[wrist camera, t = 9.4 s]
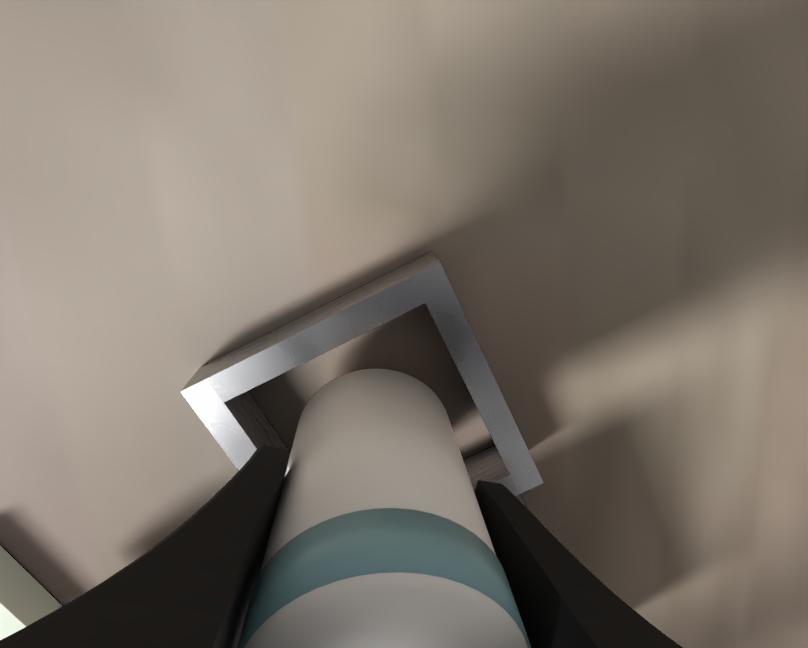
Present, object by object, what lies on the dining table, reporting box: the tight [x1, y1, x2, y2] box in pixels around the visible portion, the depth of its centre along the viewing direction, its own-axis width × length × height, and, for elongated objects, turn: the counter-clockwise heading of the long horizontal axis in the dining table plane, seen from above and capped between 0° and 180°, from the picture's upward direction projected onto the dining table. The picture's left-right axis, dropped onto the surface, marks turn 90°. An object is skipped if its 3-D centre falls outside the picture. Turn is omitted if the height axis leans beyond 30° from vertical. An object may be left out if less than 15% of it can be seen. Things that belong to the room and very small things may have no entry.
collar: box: [181, 251, 544, 496], centre depth 14 cm, size 8×8×2 cm
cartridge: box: [237, 369, 531, 648], centre depth 10 cm, size 4×4×7 cm
